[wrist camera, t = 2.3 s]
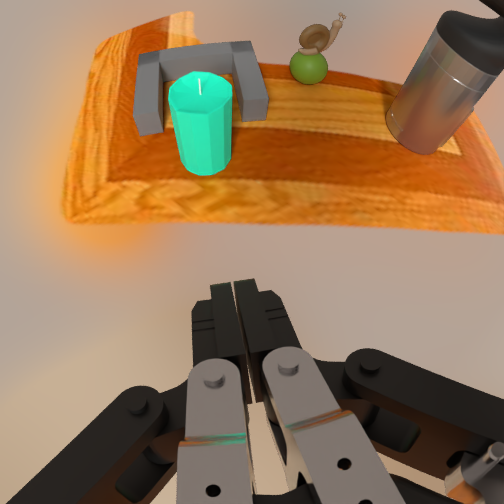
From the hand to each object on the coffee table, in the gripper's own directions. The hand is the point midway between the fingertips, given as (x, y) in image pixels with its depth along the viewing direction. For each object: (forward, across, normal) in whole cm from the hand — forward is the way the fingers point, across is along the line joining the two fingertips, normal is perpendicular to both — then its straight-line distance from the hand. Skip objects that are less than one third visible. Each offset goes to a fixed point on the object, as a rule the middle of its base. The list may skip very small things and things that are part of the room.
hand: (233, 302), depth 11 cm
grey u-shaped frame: (+36, 0, -8) cm, 37 cm away
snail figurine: (+37, -16, -9) cm, 42 cm away
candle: (+28, 0, 0) cm, 28 cm away
